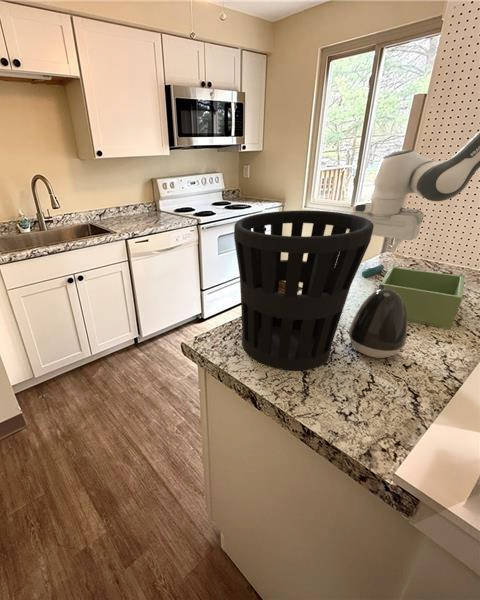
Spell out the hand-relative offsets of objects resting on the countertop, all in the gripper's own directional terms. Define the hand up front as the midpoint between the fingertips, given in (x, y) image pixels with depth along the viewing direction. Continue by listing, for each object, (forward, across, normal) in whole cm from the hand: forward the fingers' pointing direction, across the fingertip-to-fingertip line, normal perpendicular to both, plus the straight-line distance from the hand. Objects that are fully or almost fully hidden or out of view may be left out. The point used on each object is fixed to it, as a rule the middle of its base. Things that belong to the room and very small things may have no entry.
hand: (375, 248), depth 105 cm
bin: (+9, -20, +18) cm, 29 cm away
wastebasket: (+10, -11, +59) cm, 61 cm away
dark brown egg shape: (+9, -24, +46) cm, 53 cm away
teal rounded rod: (+9, 0, 0) cm, 9 cm away
